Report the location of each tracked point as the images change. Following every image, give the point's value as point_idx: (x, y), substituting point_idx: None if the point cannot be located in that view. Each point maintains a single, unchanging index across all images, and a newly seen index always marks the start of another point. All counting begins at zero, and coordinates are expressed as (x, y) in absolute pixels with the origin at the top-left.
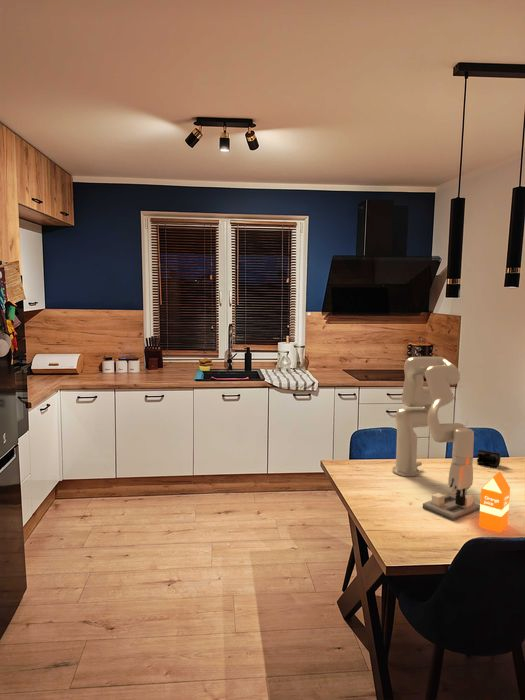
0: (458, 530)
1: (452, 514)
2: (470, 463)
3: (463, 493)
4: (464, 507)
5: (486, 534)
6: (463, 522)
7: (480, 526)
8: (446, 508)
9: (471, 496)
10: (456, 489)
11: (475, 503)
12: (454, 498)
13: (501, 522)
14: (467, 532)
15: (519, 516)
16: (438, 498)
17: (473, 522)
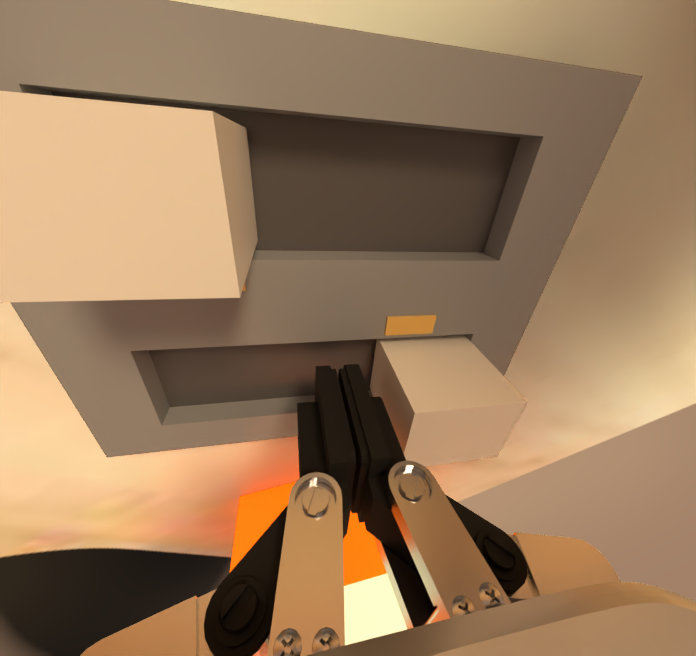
0: (55, 499)
1: (118, 440)
2: None
3: (380, 534)
4: (373, 377)
5: (194, 542)
6: (190, 451)
7: (241, 501)
8: (164, 344)
9: (483, 456)
10: (298, 611)
11: None
12: (510, 217)
13: None
14: (102, 520)
15: (498, 484)
16: (18, 293)
17: (254, 466)
